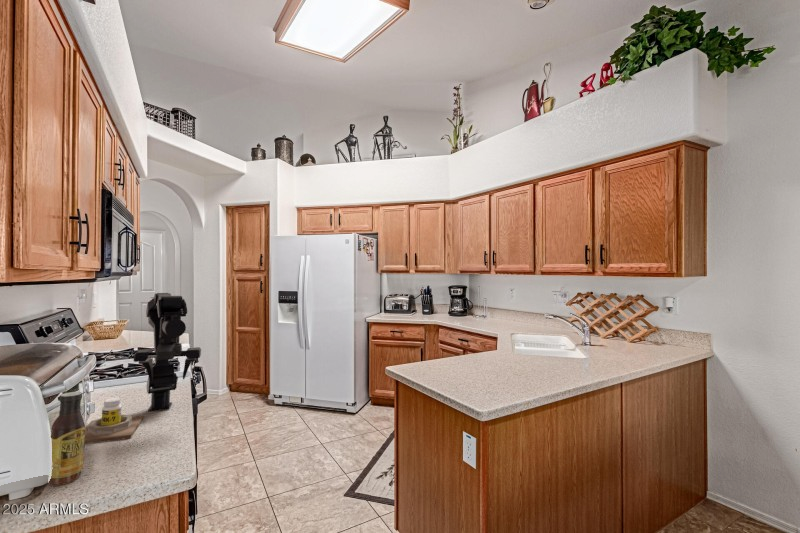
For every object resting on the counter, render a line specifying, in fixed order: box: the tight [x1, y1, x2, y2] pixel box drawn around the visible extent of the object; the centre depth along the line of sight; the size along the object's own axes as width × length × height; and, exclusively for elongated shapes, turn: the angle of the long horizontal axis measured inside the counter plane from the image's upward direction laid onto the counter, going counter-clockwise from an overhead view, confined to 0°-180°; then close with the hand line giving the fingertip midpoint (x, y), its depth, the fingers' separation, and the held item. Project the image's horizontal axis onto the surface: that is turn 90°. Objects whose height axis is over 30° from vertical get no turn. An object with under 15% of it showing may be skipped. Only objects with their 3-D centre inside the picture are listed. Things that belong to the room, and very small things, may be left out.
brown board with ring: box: [84, 414, 145, 445], centre depth 116 cm, size 16×14×3 cm
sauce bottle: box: [47, 391, 86, 486], centre depth 89 cm, size 7×6×20 cm
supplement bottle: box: [101, 397, 122, 426], centre depth 116 cm, size 5×5×8 cm
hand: (167, 380), depth 126 cm, fingers open, 9 cm apart
